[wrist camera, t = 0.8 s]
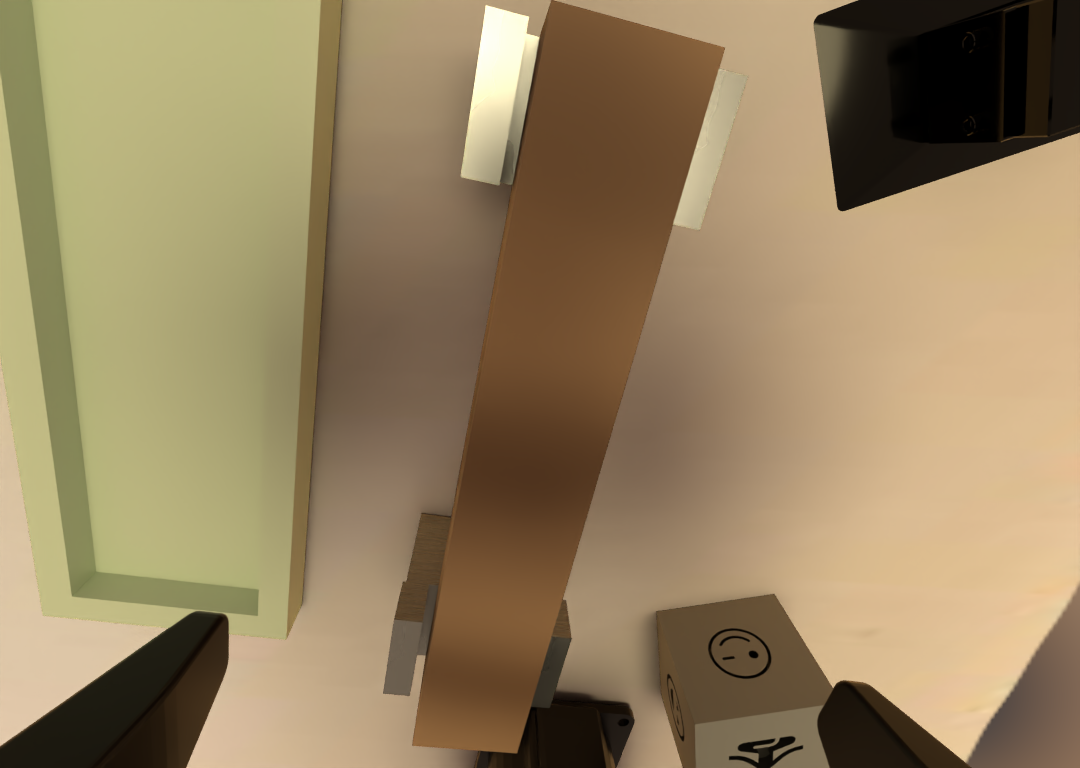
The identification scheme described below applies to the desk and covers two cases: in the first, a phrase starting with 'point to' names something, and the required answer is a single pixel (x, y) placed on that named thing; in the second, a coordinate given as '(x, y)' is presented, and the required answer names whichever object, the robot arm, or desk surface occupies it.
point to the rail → (557, 353)
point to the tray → (165, 298)
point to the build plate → (942, 87)
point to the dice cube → (740, 686)
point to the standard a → (419, 611)
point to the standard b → (505, 104)
